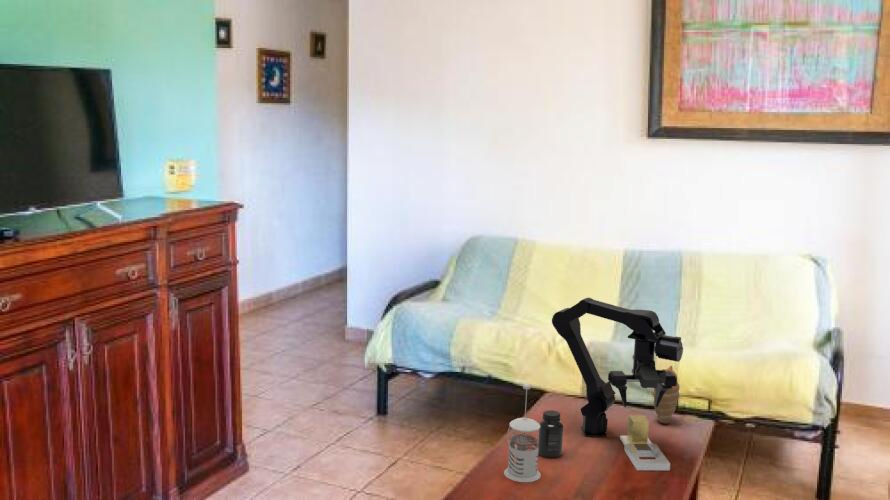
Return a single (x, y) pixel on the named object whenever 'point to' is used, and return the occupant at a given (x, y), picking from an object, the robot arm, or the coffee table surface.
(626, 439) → the coaster
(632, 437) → the brass metal cube
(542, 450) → the supplement bottle
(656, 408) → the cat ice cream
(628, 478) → the coffee table surface
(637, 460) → the white flat frame
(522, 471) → the french press
